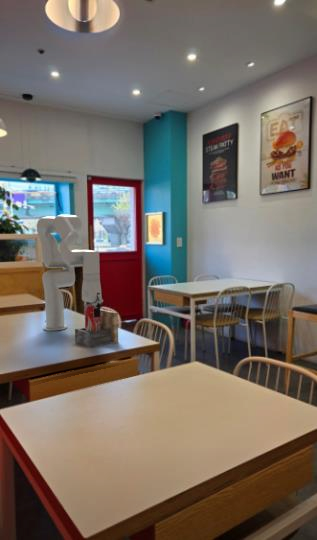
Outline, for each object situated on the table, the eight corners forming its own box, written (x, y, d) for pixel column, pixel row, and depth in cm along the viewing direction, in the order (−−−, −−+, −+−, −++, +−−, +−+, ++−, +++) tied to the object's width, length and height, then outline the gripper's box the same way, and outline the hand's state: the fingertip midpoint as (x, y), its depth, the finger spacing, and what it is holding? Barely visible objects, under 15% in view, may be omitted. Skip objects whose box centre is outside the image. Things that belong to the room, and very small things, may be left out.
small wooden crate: (73, 340, 179) (72, 311, 178) (96, 335, 188) (95, 307, 187) (94, 348, 166) (93, 316, 165) (118, 342, 175) (117, 312, 174)
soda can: (102, 330, 179) (101, 302, 178) (98, 333, 172) (97, 305, 171) (87, 329, 180) (87, 302, 179) (83, 333, 173) (82, 305, 172)
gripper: (74, 276, 178) (75, 314, 179) (95, 279, 165) (96, 319, 167) (88, 275, 183) (89, 312, 184) (109, 278, 170) (110, 317, 172)
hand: (92, 315), depth 175 cm, fingers closed on soda can, 6 cm apart
